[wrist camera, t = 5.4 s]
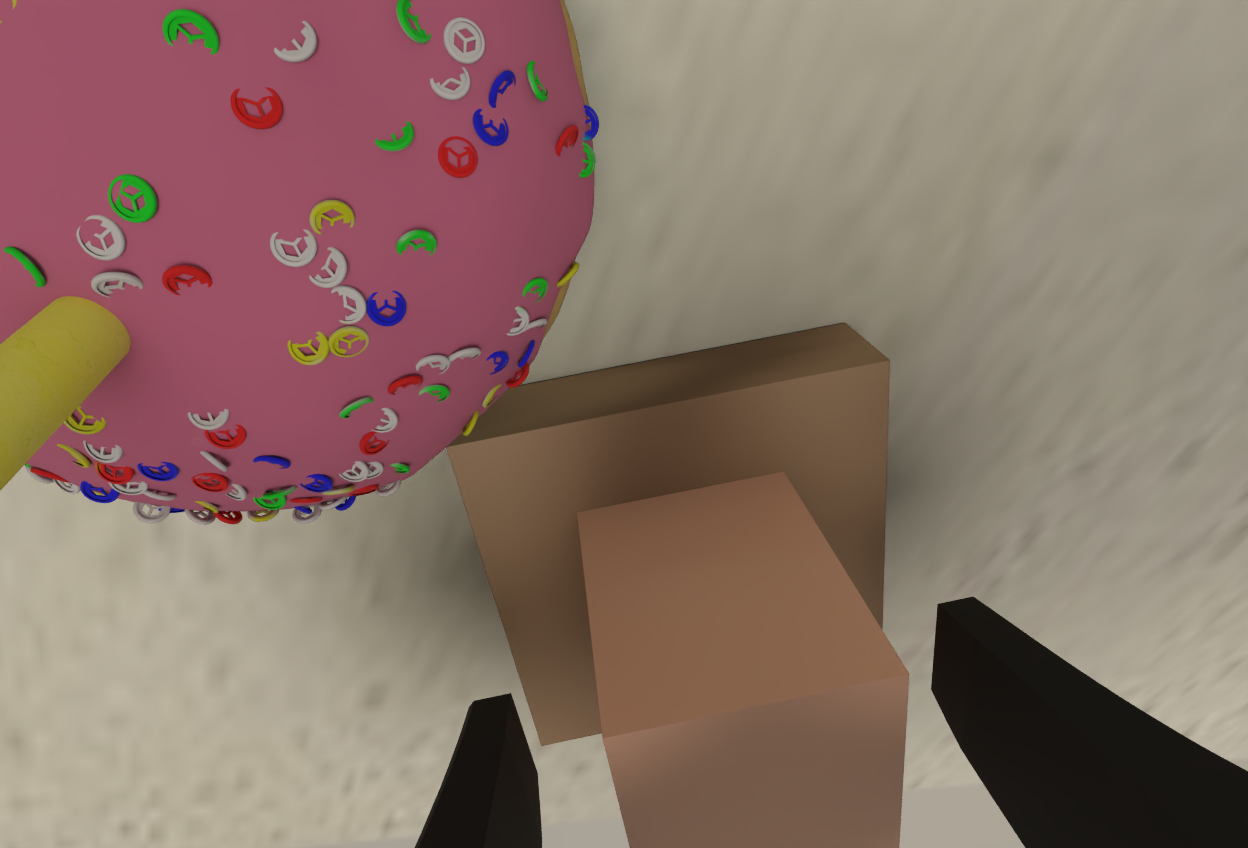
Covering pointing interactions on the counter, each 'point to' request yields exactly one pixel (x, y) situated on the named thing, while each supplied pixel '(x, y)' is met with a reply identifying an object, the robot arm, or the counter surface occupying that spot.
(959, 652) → the robot arm
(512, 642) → the base
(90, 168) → the cupcake
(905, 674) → the block
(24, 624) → the counter surface
